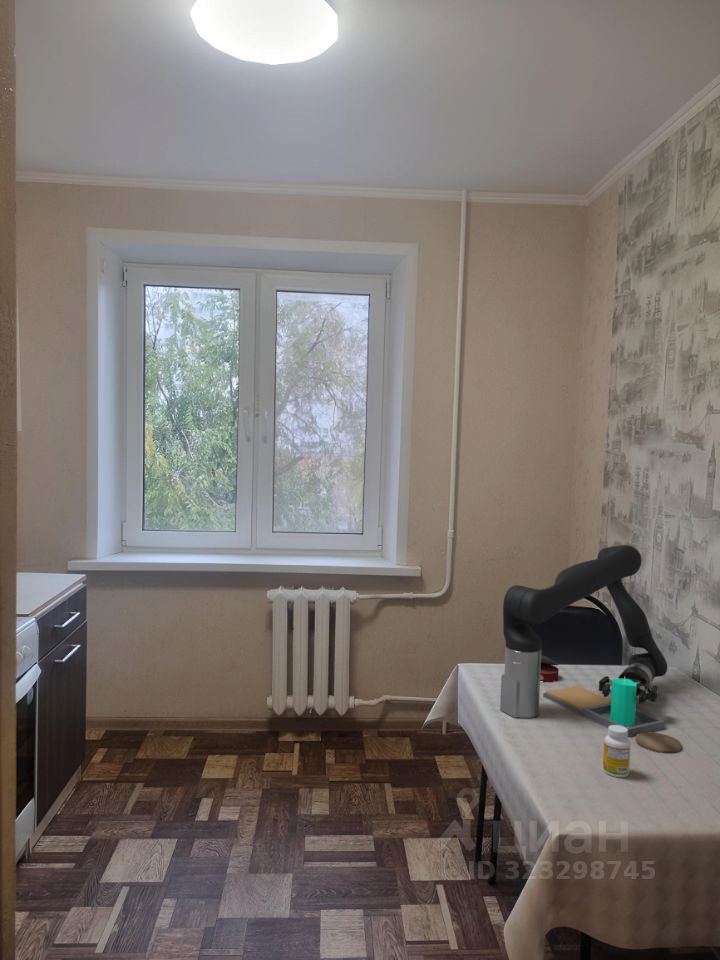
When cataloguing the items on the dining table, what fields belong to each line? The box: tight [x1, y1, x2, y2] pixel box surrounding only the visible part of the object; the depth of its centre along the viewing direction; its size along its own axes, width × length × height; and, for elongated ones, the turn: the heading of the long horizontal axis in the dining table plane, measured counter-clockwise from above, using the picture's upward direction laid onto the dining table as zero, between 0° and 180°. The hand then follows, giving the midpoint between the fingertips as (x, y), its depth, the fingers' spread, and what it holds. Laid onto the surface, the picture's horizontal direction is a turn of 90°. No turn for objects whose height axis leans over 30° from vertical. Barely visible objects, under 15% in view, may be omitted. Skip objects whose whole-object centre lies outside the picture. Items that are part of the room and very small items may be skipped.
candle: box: [609, 676, 637, 727], centre depth 182 cm, size 6×6×12 cm
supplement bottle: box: [602, 725, 631, 778], centre depth 153 cm, size 5×5×10 cm
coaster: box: [635, 731, 682, 754], centre depth 169 cm, size 10×10×1 cm
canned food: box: [540, 654, 559, 683], centre depth 216 cm, size 11×10×10 cm
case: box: [542, 685, 666, 738], centre depth 189 cm, size 13×30×2 cm, turn 27°
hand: (622, 696), depth 181 cm, fingers open, 8 cm apart
